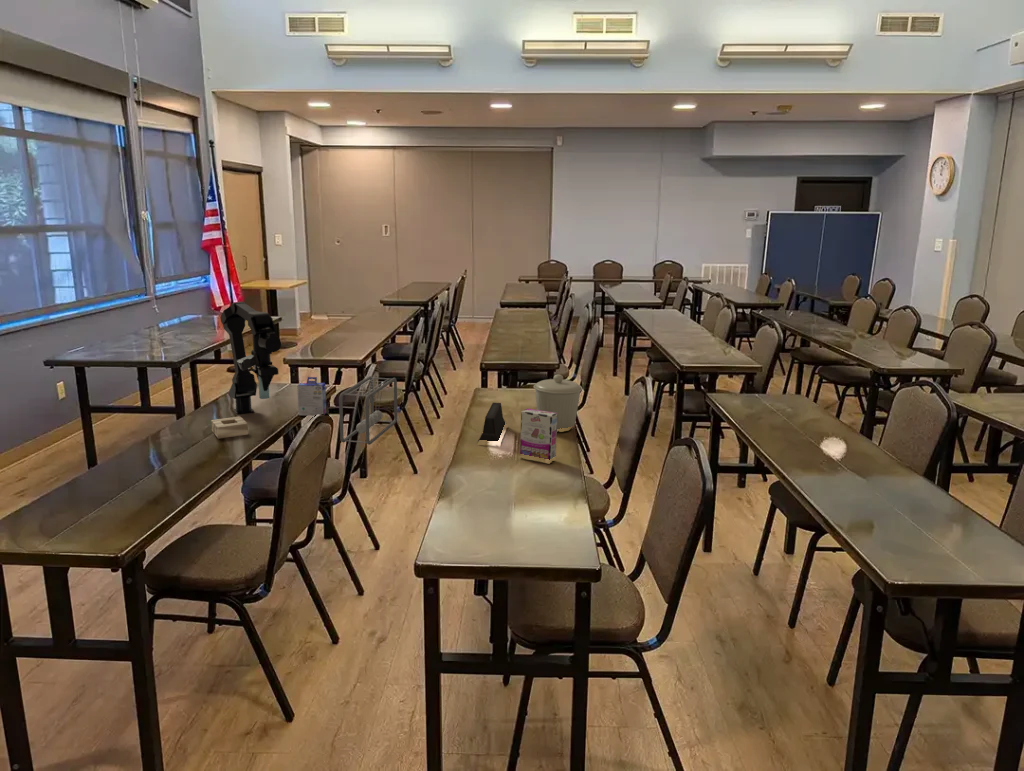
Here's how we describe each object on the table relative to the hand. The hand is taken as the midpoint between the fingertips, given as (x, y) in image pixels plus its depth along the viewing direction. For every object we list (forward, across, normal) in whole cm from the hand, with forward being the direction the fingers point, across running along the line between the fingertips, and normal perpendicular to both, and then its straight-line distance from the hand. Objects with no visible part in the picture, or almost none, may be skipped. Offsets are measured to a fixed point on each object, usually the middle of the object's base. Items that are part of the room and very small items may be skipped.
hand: (263, 389), depth 261 cm
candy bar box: (+13, +82, +65) cm, 106 cm away
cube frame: (+13, +28, +29) cm, 43 cm away
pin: (+3, 0, 0) cm, 3 cm away
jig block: (+13, +5, -14) cm, 20 cm away
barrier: (+14, +53, +66) cm, 86 cm away
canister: (+13, +58, +91) cm, 109 cm away
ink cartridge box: (+13, -4, +19) cm, 24 cm away
